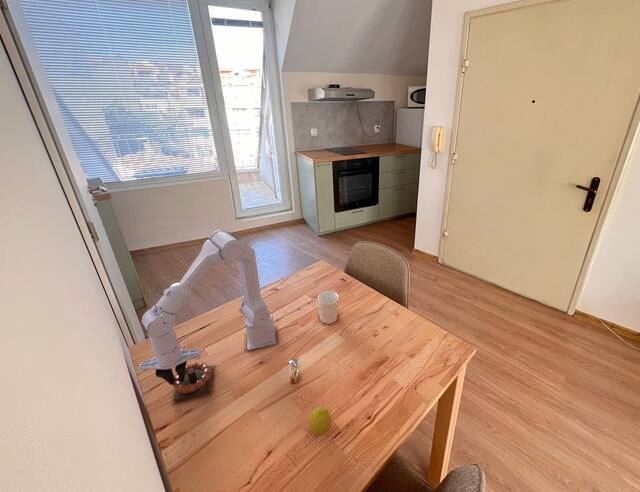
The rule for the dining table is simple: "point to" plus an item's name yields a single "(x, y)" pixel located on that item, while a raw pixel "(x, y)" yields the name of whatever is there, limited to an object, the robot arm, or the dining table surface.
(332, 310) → the white cup
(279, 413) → the dining table surface
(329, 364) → the dining table surface
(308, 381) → the dining table surface
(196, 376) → the stand
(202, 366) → the hoop
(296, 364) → the ring
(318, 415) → the lemon
